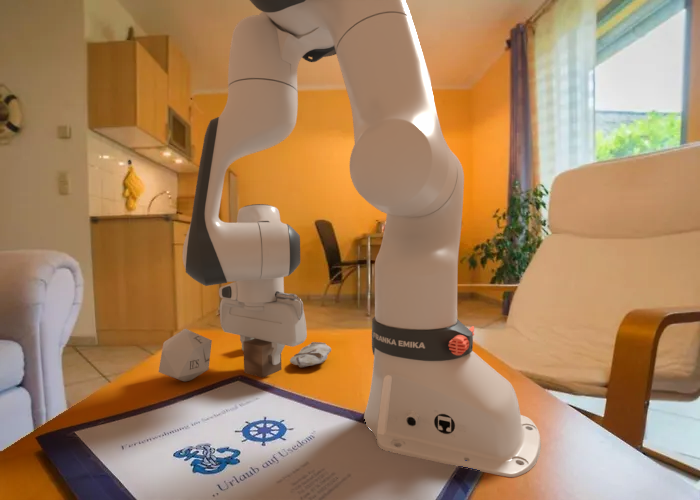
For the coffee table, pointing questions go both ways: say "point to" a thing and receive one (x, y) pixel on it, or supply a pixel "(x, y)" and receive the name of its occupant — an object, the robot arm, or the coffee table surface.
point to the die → (185, 355)
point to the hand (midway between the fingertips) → (262, 360)
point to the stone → (311, 354)
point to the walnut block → (259, 358)
